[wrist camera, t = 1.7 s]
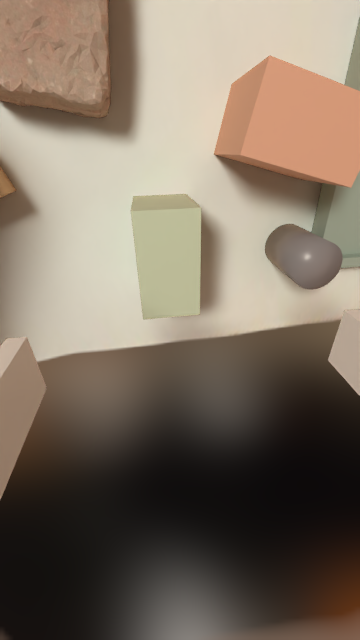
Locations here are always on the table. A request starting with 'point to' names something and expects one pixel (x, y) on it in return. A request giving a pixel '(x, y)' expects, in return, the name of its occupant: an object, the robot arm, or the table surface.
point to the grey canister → (303, 256)
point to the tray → (343, 194)
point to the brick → (56, 55)
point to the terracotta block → (293, 124)
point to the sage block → (167, 254)
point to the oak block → (5, 184)
